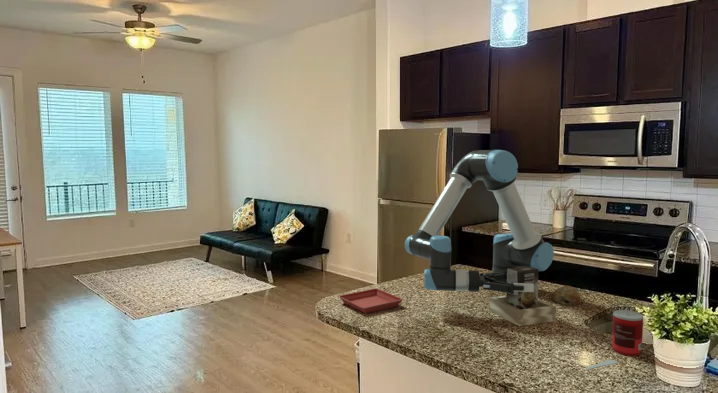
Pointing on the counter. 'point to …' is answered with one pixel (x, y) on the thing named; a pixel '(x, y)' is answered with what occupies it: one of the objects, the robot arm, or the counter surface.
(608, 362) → the butter knife
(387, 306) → the plant saucer
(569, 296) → the bread roll
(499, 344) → the counter surface
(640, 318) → the canned food
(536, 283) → the coffee box
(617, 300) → the counter surface
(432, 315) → the counter surface
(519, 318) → the wooden tray
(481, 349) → the counter surface
